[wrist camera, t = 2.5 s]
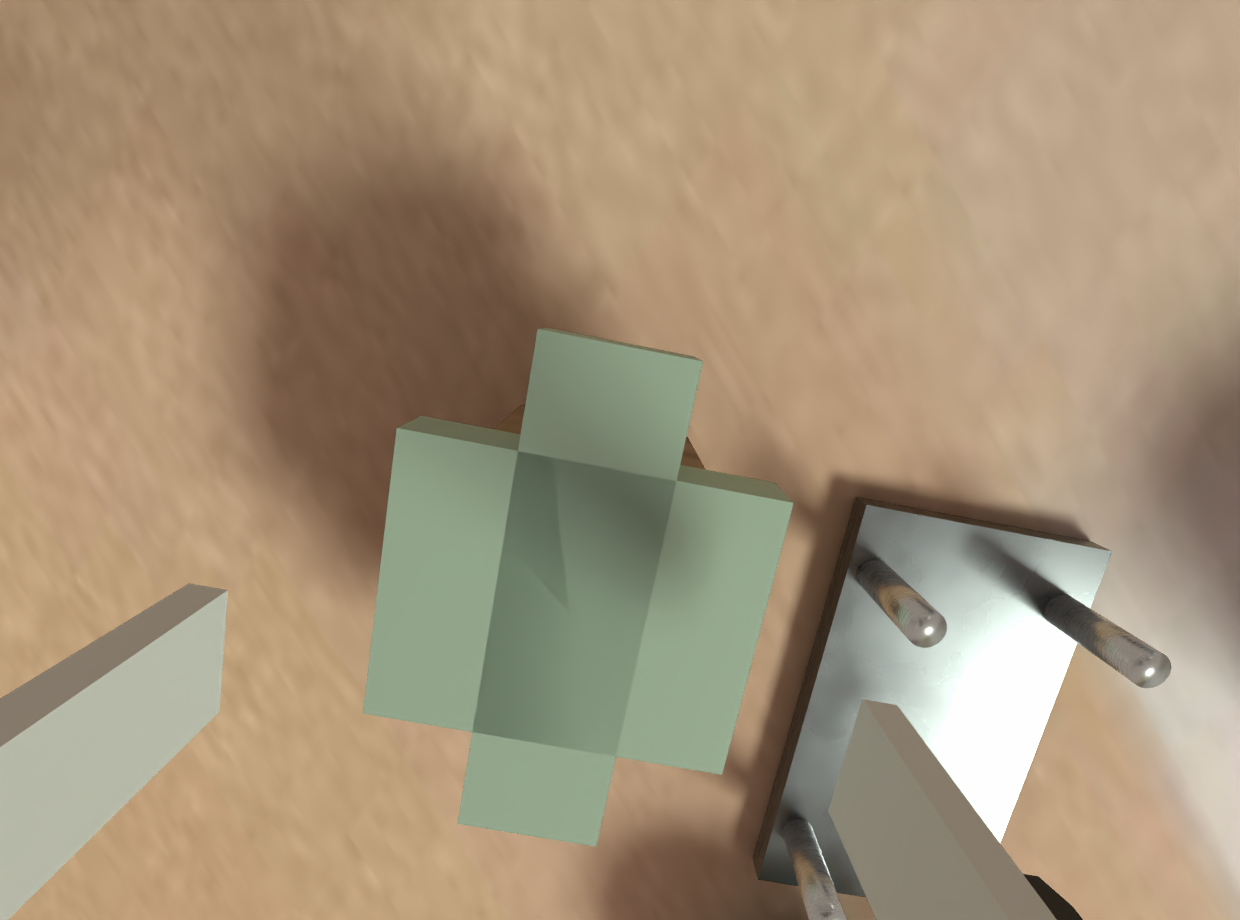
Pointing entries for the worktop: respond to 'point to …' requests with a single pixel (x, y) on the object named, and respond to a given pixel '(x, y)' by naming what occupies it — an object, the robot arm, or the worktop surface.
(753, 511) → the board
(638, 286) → the worktop surface
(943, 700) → the chassis
